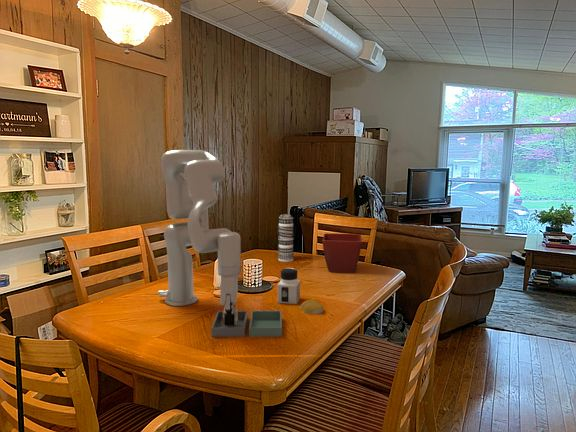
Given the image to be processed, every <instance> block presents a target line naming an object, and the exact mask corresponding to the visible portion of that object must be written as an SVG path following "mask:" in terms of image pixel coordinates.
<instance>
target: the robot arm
mask: <svg viewBox="0 0 576 432" xmlns="http://www.w3.org/2000/svg"><path fill="white" fill-rule="evenodd" d="M160 160H161V161H160V167H161V172H162V177H163V180H164V182H165V197H166V198H165V199H166V201H165V202H166V212H167V216H168V217H169V218H170V219H172V220H185V219H187V221H181V222H174V223H170V224H168V225H167V226H166V227H165V228H164V231H163V239H164V243H165V247H166V255H167V257H166V258H167V276H168V277H167V278H168V289H166V290H158V292H157V295H158V296H159V297H160V298H161V297H162V298H163V297H165V299H164V303H165V304H166V305H169V306H173V307H183V306H189V305H192V304H195V303H196V302H197V301H198V299H199V297H198V295H197V294H195V293H194V268H193V267H194V264H193V256H192V254H191V252H190V251H189V249H187V247H189V246H192V248H193V249H194V251H196V252H197V253H199V254H206V253H213V252H217V274H218V276H219V277H220V291H219V295H220V297H219V299H220V302H219V305H220V306H221V307H223V306H224V307H225V314H224V316H225V326H234V324H235V322H234V313H233V311H234V307H236V302H237V300H238V291H239V290H238V288H239V286H238V282H239V281H238V278H239V277H238V276H241V274H242V251H241V250H242V249H241V247H242V244H241V240H242V239H241V235H240V233H239V232H235V231H231V230H230V229H229V228H226V227H223V228H222V227H221V228H211V229H209V228H210V227H209V226H210V225H209V222H210V221H209V208H211V207H212V206H214V205H215V204H216V203H217V202H218V196H217V192H216V188H215V186H214V183H215V184H217V183H221V182H223V181H224V179H225V177H226V170H225V167H224V165H223V164H222V163H223V162H222V161H220V159H219V158H217V157H216V156H214V155H212V154H211V153H209V152H208V151H206V150H202V149H173V150H172V149H171V150H168V151H166V152H164V153H163V155H162V157H161V159H160ZM183 173H184V174H183ZM230 307H232V309H231V308H230Z"/></svg>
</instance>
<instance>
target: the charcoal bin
mask: <svg viewBox="0 0 576 432" xmlns="http://www.w3.org/2000/svg"><path fill="white" fill-rule="evenodd" d="M248 313H249V312H248V310H238V321H237V325H234V326H225V325H223V310H218V311H217V312H216V314H215V318H214V320H213V323H212V326H211V332H210V333H211V337H212V338H222V337H223V338H231V337H232V338H237V337H239V338H243V337H245V334H246V330H247V324H248Z"/></svg>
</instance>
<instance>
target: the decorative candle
mask: <svg viewBox="0 0 576 432" xmlns="http://www.w3.org/2000/svg"><path fill="white" fill-rule="evenodd" d="M278 218H279V219H278V224H277V225H278V226H277V229H278V230H277V235H278V236H277V238H278V246H277V248H278V250H277V251H278V253H277V254H278V256H277V257H278V261H279V262H284V263H285V262H287V263H288V262H292V261H294V250H295V249H294V243H293V242H294V241H293V240H294V238H295V236H294V235H295V234H294V232H295V226H294V221H293V220H294V217H293V216H292V215H291V214H285V213H284V214H280V216H278Z"/></svg>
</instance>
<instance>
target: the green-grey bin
mask: <svg viewBox="0 0 576 432" xmlns="http://www.w3.org/2000/svg"><path fill="white" fill-rule="evenodd" d="M282 316H283V315H282V310H251V313H250V321H249V326H248V336H249V338H250V337H251V338H255V337H257V338H258V337H260V338H261V337H265V338H266V337H268V338H269V337H275V338H276V337H279V338H280V337H283V327H282V326H283V325H282V323H283V318H282Z"/></svg>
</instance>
